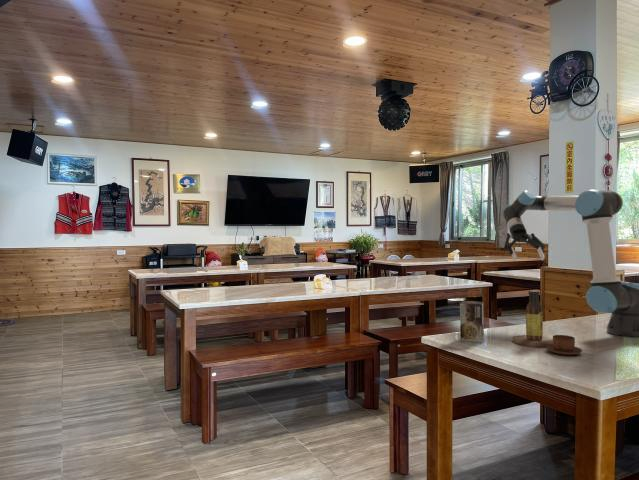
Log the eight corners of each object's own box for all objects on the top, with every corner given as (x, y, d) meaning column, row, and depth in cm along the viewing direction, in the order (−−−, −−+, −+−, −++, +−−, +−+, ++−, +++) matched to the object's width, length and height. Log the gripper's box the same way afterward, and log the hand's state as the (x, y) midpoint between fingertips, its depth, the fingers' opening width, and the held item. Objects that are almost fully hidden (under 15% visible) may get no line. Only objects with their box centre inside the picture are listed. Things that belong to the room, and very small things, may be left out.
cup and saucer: (580, 359, 168) (580, 342, 168) (544, 354, 174) (544, 338, 174) (582, 352, 178) (582, 335, 178) (547, 347, 184) (548, 332, 184)
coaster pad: (561, 342, 192) (561, 339, 192) (546, 349, 181) (546, 345, 181) (522, 336, 204) (522, 333, 204) (506, 342, 192) (506, 339, 192)
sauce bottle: (544, 341, 189) (544, 292, 188) (527, 340, 190) (528, 291, 190) (540, 337, 195) (540, 290, 195) (524, 337, 196) (524, 289, 196)
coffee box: (484, 339, 198) (484, 301, 198) (482, 343, 192) (482, 303, 192) (461, 338, 202) (461, 300, 201) (459, 341, 196) (459, 302, 196)
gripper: (538, 233, 246) (552, 263, 231) (490, 233, 247) (501, 263, 232) (543, 223, 241) (557, 253, 226) (494, 223, 241) (505, 253, 226)
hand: (529, 258), depth 229 cm, fingers open, 13 cm apart
